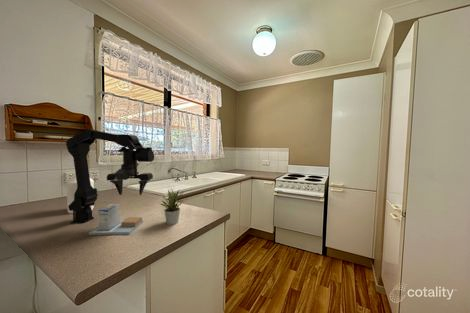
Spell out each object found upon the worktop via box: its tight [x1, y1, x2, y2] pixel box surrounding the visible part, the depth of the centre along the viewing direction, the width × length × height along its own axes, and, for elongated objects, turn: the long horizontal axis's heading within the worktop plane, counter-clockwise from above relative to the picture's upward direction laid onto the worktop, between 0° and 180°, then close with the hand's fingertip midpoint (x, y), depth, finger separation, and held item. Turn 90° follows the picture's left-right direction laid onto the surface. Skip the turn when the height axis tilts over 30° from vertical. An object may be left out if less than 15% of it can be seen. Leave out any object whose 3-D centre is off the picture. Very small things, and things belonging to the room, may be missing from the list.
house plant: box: [157, 188, 188, 226], centre depth 88 cm, size 14×14×16 cm
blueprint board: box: [88, 216, 144, 236], centre depth 81 cm, size 16×12×3 cm
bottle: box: [65, 173, 95, 214], centre depth 104 cm, size 12×12×25 cm
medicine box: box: [97, 203, 121, 230], centre depth 80 cm, size 8×4×9 cm, turn 2°
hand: (130, 194), depth 88 cm, fingers open, 9 cm apart
